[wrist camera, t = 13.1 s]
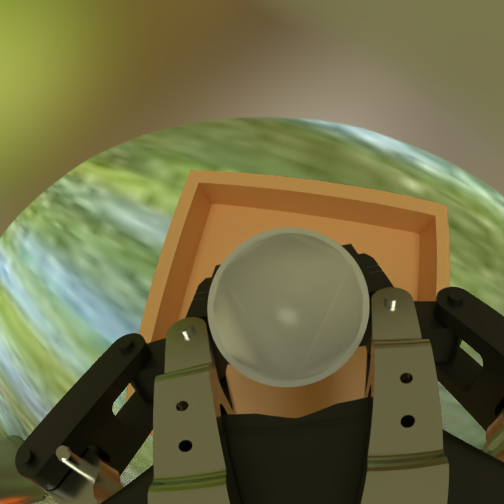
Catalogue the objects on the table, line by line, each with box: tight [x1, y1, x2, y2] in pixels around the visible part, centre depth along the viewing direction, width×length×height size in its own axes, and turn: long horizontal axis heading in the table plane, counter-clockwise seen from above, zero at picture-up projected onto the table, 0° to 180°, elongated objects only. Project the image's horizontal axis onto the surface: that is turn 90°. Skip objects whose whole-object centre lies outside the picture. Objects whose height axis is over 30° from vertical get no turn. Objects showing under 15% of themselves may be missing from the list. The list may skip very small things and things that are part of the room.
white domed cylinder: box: [207, 227, 370, 387], centre depth 11 cm, size 4×4×11 cm
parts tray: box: [125, 170, 450, 436], centre depth 16 cm, size 18×18×4 cm
